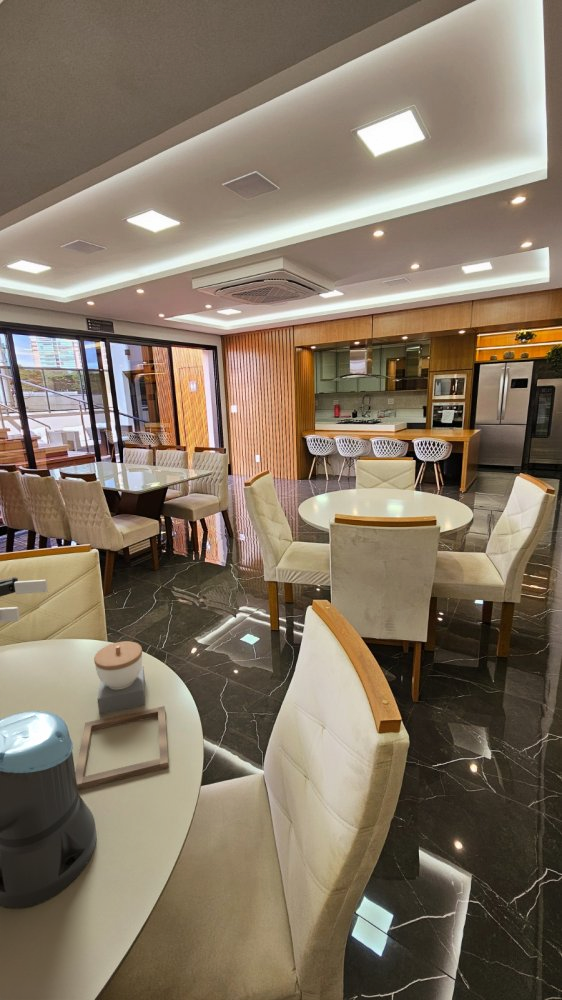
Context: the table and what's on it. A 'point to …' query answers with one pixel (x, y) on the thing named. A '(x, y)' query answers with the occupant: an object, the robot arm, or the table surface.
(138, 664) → the lidded jar
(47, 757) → the robot arm
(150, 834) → the table surface
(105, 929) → the table surface
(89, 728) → the walnut collar
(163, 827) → the table surface
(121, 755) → the table surface
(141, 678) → the gray stand
